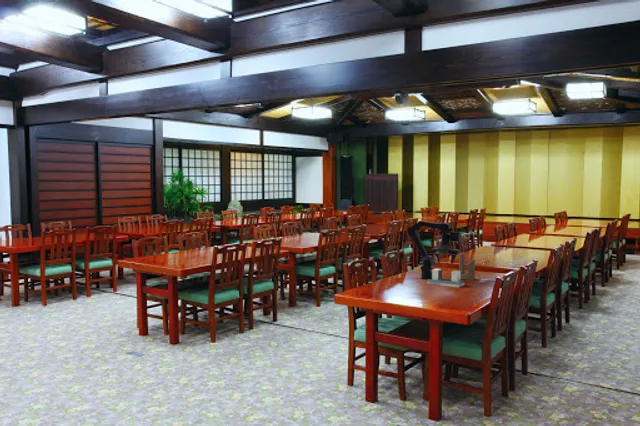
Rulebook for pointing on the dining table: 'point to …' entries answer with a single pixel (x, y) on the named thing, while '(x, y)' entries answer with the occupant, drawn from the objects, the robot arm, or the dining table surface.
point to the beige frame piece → (469, 267)
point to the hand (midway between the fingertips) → (445, 263)
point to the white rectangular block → (436, 274)
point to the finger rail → (449, 280)
